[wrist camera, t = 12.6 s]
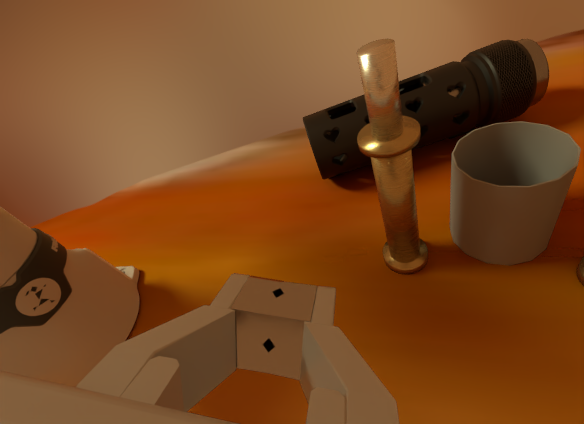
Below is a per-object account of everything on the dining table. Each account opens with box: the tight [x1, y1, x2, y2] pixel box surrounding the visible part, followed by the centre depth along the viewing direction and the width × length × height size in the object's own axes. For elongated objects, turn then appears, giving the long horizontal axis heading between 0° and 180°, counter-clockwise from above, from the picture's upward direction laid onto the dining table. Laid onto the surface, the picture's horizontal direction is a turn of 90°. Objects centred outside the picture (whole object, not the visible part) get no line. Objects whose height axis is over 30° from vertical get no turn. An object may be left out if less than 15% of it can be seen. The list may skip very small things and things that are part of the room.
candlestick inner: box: [357, 39, 428, 274], centre depth 25 cm, size 4×4×22 cm
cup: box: [450, 121, 581, 265], centre depth 28 cm, size 8×8×10 cm
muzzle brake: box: [303, 39, 549, 179], centre depth 41 cm, size 10×28×10 cm, turn 96°
